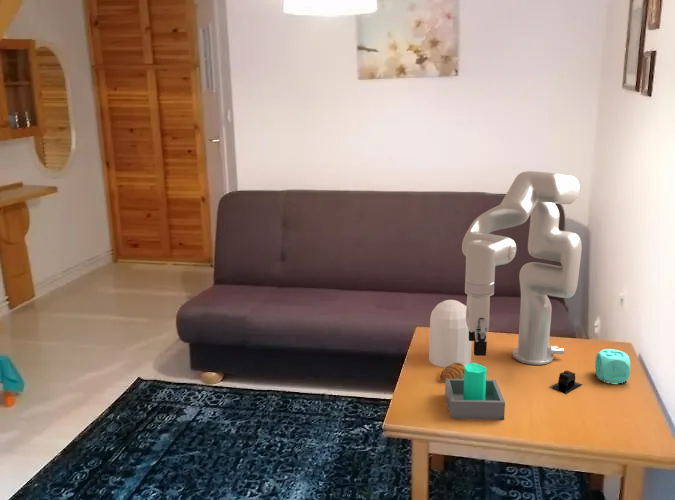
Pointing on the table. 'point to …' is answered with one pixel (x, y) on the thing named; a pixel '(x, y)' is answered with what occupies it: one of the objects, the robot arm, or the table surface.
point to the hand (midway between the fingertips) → (477, 347)
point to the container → (449, 335)
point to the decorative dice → (612, 366)
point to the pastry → (453, 372)
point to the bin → (474, 402)
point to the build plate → (566, 383)
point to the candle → (474, 382)
